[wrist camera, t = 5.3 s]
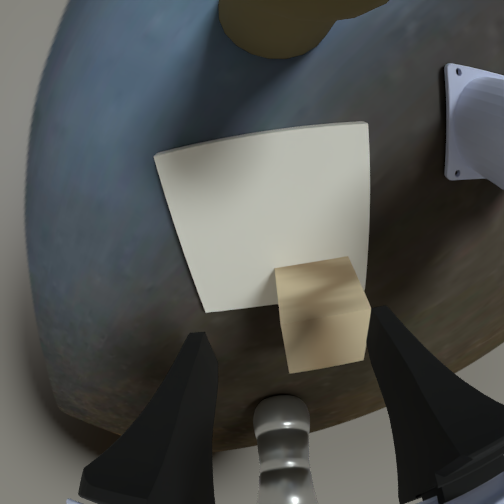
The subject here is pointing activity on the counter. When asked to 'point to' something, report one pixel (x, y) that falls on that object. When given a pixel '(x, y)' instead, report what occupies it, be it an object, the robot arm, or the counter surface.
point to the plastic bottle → (283, 451)
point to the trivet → (268, 207)
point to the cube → (322, 314)
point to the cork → (285, 23)
